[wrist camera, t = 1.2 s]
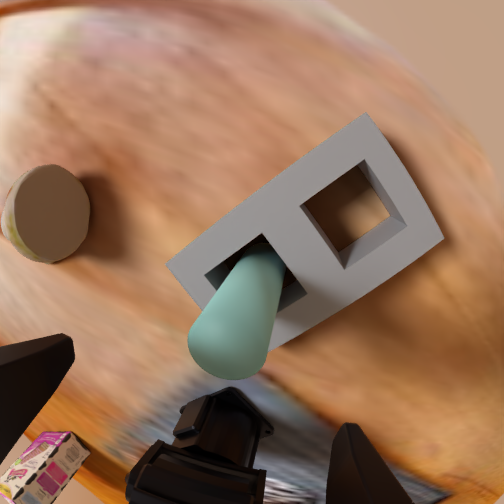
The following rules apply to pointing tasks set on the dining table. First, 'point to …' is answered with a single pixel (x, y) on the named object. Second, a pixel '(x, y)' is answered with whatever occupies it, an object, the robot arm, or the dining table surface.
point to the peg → (240, 316)
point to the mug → (46, 214)
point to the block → (317, 232)
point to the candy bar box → (43, 469)
